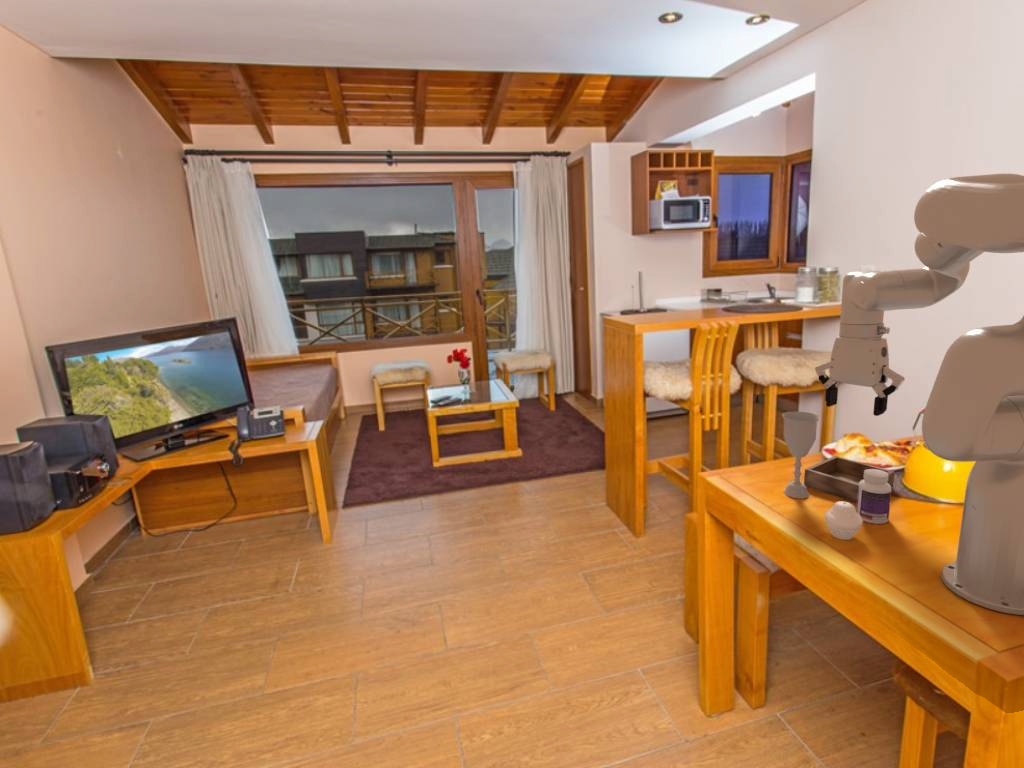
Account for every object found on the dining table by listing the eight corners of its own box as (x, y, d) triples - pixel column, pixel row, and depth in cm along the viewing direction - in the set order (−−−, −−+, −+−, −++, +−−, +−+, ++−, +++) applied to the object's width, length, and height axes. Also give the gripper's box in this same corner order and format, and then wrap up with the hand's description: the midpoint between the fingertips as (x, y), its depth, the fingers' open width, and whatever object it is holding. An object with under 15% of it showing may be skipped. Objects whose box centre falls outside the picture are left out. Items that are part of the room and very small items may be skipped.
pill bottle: (895, 524, 103) (899, 477, 101) (866, 525, 103) (870, 479, 101) (876, 511, 108) (881, 466, 106) (850, 512, 109) (853, 468, 106)
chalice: (772, 493, 119) (776, 416, 115) (785, 484, 123) (789, 409, 119) (807, 503, 114) (812, 423, 109) (820, 493, 118) (825, 415, 114)
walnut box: (892, 488, 117) (894, 471, 116) (863, 505, 111) (864, 487, 110) (834, 471, 128) (835, 455, 127) (803, 486, 122) (804, 469, 121)
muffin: (842, 547, 97) (845, 512, 95) (815, 531, 103) (817, 498, 101) (869, 540, 98) (872, 505, 97) (841, 525, 104) (844, 492, 103)
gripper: (916, 332, 106) (908, 414, 110) (828, 326, 120) (823, 399, 124) (898, 337, 102) (890, 422, 106) (809, 330, 117) (805, 405, 120)
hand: (854, 409), depth 115 cm, fingers open, 9 cm apart
